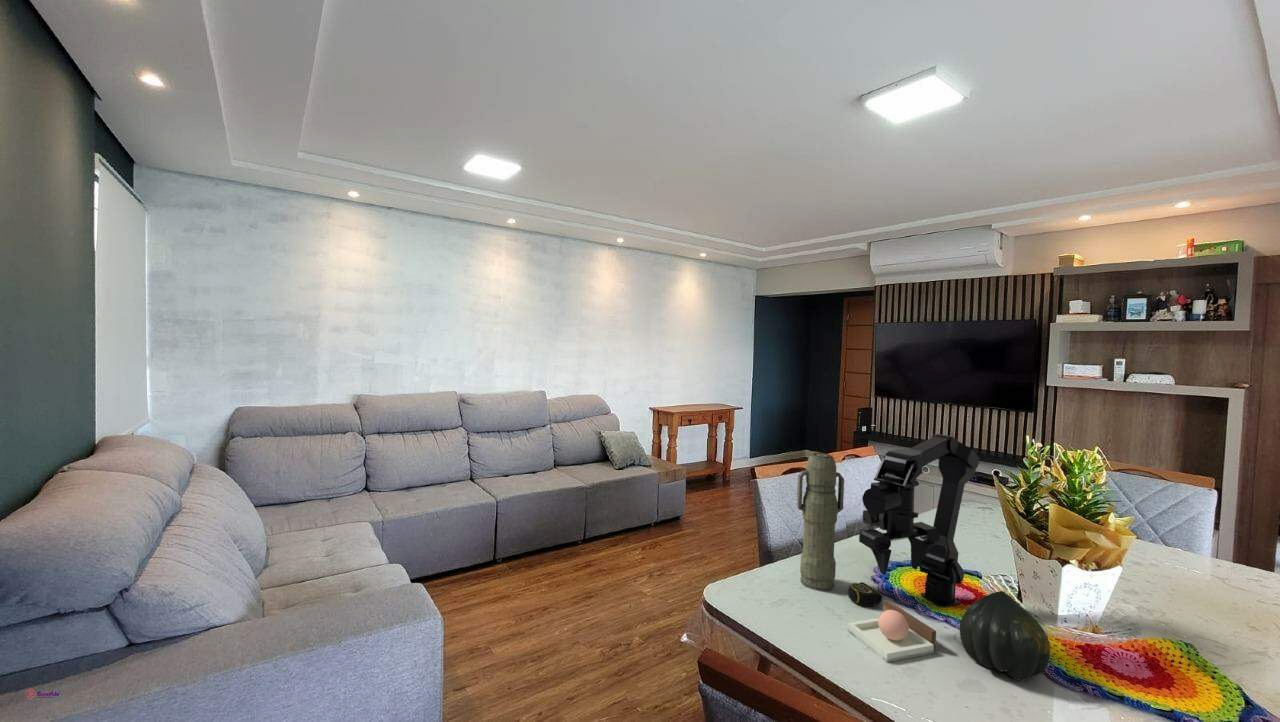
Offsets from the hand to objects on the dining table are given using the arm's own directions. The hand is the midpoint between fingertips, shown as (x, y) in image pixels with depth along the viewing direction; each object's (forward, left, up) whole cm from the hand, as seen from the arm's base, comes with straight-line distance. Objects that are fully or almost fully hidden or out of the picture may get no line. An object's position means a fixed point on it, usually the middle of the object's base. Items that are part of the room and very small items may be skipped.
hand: (898, 571), depth 123 cm
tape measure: (+1, -9, -12) cm, 15 cm away
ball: (+9, +7, -11) cm, 16 cm away
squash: (-7, +20, -12) cm, 24 cm away
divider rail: (+2, +5, -12) cm, 13 cm away
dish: (+9, +7, -12) cm, 16 cm away
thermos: (+7, -21, -12) cm, 25 cm away
